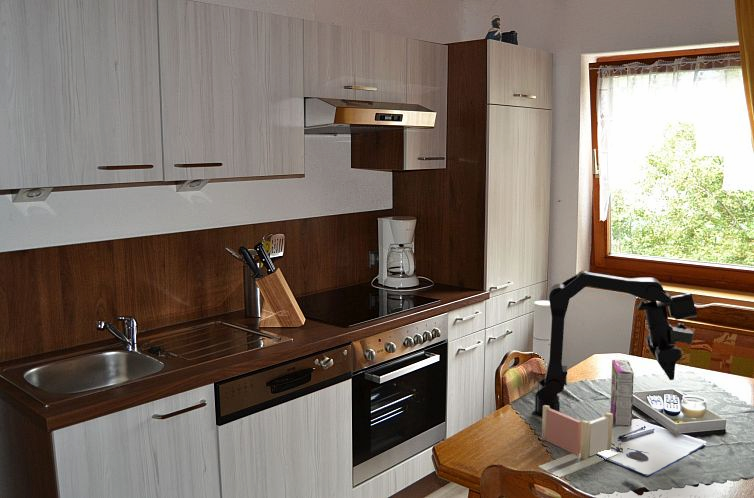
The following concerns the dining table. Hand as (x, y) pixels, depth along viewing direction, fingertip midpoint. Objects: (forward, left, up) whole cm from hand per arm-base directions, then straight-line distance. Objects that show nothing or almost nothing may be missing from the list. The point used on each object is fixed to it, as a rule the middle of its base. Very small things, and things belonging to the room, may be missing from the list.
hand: (668, 374), depth 201 cm
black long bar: (-52, +10, -15) cm, 55 cm away
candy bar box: (-11, -6, -15) cm, 20 cm away
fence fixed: (-2, -31, -15) cm, 35 cm away
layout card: (-3, -38, -15) cm, 41 cm away
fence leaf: (-10, -35, -15) cm, 39 cm away
